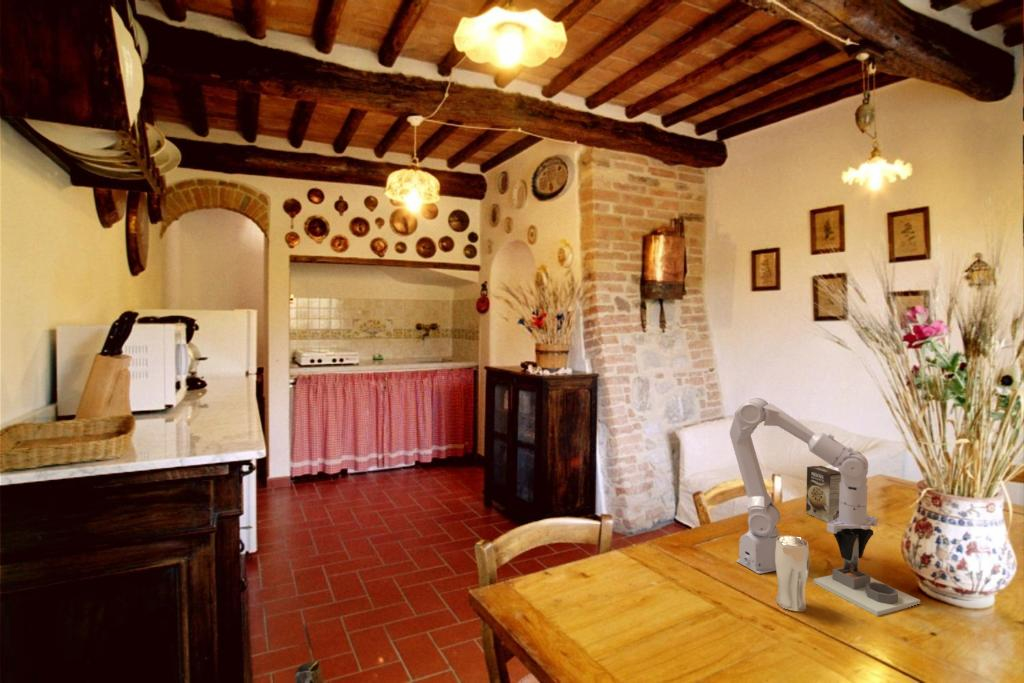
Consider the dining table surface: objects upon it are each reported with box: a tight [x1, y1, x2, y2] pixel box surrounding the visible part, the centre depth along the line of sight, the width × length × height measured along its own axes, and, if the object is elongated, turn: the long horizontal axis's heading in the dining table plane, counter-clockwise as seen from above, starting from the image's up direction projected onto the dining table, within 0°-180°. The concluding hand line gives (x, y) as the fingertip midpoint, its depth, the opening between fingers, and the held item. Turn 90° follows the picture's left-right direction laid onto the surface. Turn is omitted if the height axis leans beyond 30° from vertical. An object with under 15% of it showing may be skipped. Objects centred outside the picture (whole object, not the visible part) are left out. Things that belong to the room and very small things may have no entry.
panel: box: [813, 566, 921, 617], centre depth 128 cm, size 14×16×4 cm
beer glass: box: [775, 534, 810, 612], centre depth 122 cm, size 7×7×15 cm
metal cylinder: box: [843, 531, 860, 572], centre depth 131 cm, size 3×3×9 cm
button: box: [846, 573, 858, 578], centre depth 131 cm, size 4×4×1 cm
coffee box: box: [805, 465, 841, 524], centre depth 177 cm, size 9×6×16 cm
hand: (851, 557), depth 131 cm, fingers closed on metal cylinder, 3 cm apart
